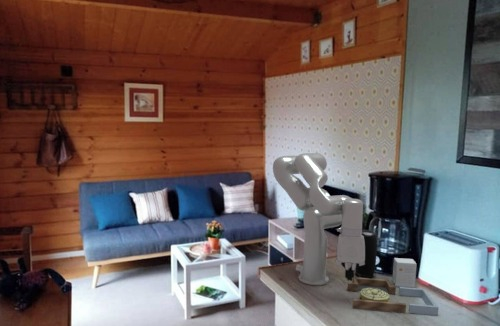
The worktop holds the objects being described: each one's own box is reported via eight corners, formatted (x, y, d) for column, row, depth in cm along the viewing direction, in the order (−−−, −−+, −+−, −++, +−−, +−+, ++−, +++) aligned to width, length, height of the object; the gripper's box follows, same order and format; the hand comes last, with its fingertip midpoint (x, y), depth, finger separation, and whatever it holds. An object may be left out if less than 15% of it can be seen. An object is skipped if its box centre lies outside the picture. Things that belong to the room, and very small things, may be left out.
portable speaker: (354, 277, 178) (357, 233, 176) (354, 270, 187) (357, 228, 185) (374, 280, 176) (378, 236, 174) (374, 273, 185) (377, 230, 183)
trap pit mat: (358, 290, 166) (358, 290, 166) (356, 285, 170) (356, 285, 170) (387, 293, 164) (387, 292, 164) (385, 288, 169) (385, 287, 169)
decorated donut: (376, 293, 164) (377, 284, 164) (394, 305, 154) (395, 295, 154) (354, 296, 160) (355, 287, 160) (371, 309, 150) (372, 299, 150)
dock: (409, 313, 148) (410, 305, 148) (398, 294, 164) (399, 286, 164) (437, 315, 147) (438, 307, 147) (423, 296, 163) (424, 288, 163)
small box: (411, 282, 176) (413, 258, 175) (414, 288, 171) (417, 263, 169) (391, 281, 177) (393, 257, 176) (394, 286, 171) (397, 262, 170)
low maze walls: (353, 308, 150) (353, 300, 150) (345, 283, 172) (345, 276, 172) (405, 312, 148) (406, 304, 148) (391, 287, 170) (391, 280, 170)
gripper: (332, 233, 152) (330, 281, 154) (373, 235, 150) (371, 284, 152) (330, 228, 159) (328, 274, 161) (370, 230, 158) (367, 277, 159)
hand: (349, 279), depth 156 cm, fingers closed
